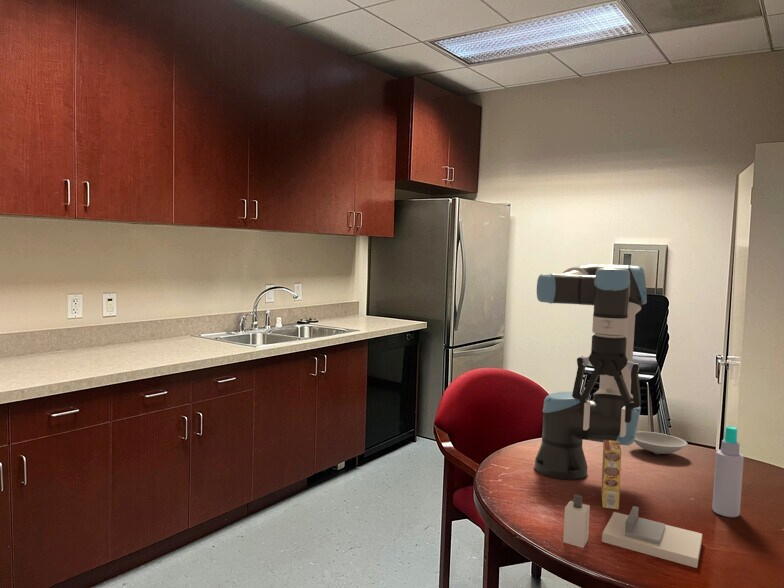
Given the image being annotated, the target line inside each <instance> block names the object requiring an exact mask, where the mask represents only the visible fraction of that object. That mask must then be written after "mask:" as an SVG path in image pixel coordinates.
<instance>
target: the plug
mask: <svg viewBox="0 0 784 588" xmlns="http://www.w3.org/2000/svg"><path fill="white" fill-rule="evenodd" d="M590 510H591V505H590V504H586V503H583V496H582V495H580V494H574V495H573V500H570V501H569V502H568V503H567V504H566V506H564V518H563V519H564V520H563V540H562V542H563V543H565V544H568V545H572V546H575V547H579V548H582V549H584V548H585V546H586V544H587V542H588V541H589V530H590V525H589V524H590Z"/></svg>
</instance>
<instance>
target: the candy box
mask: <svg viewBox="0 0 784 588" xmlns="http://www.w3.org/2000/svg"><path fill="white" fill-rule="evenodd" d="M601 464H602V465H601V502H602V503H601V504H602V508H604V509H612V510H619V509H620V492H621V491H620V490H621V470H622V469H621V467H622V449H621V445H620V444H619V441H612V440H604V441H603V442H602V463H601Z"/></svg>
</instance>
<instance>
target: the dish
mask: <svg viewBox="0 0 784 588" xmlns="http://www.w3.org/2000/svg"><path fill="white" fill-rule="evenodd" d="M634 443H635V444H636V445H637V446H639V448H641V449H643V450H646V451H647V452H651V453H653V454H654V455H660V454H664V455H665V454H667V455H668V454H673V453H676V452H678V451H680V450H681V449H683V448H685V447H687V446H688V442H687V441H686V440H685V439H683V438H680V437H677V436H673V435H670V434H666V433H661V432H654V431H636V436H635V440H634Z"/></svg>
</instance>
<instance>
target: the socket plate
mask: <svg viewBox="0 0 784 588" xmlns="http://www.w3.org/2000/svg"><path fill="white" fill-rule="evenodd" d="M628 516H629V514H626V513H625V514H624V513H621V512H617V511H613V512H612V514H611V516H610V518H609V520H608V522H607V523H606V526H605V527H604V529H603V531H602V533H601V534H602V535H601V542H602V543H606V544H608V545H611V546H612V545H613V546H616V547H618V548H622V549H623V548H624V549H627V550H630V551H634V552H636V553H637V552H638V553H641V554H644V555H648V556H652V557H656V558H659V559H662V560H666V561H670V562H674V563H676V564H677V563H678V564H680V565H684V566H688V567H692V568H695V569H697V568H698V565H699V560H700V554H701V548H702V544H703V543H702V542H703V533H700V532H697V531H693V530H688V529H684V528H681V527H678V526H677V527H676V526H672V525H668V524H665V529H664V532H663V535H662V538H661V541H660V544H656V543H652V542H648V541H644V540H641V539H637V538H633V537H629V536H626V535H625V526H626V520H627V518H628Z"/></svg>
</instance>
